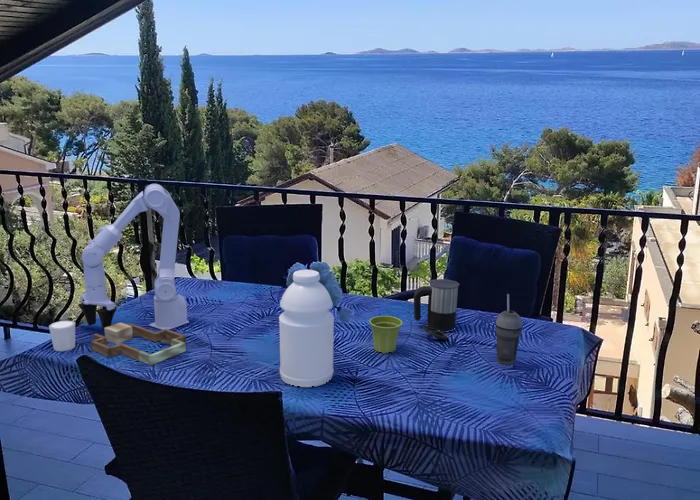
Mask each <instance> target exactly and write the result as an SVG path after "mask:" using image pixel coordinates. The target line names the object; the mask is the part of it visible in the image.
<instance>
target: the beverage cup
mask: <svg viewBox="0 0 700 500" xmlns="http://www.w3.org/2000/svg"><path fill="white" fill-rule="evenodd" d="M506 296H507V297H506V306H507V307H506V308H507V309H506V310H504V311H502V312H500V313H499V314H498V316H497V318H496V320H495V324H494V326H495V333H496V361H497V362H498V363H499V364H501V365H505V366H511V365H514V366H515V363H516V360H517V353H518V347H519V343H520V337H521V335H522V330H523V327H524V326H523V320H522V318H521V316H520V315H519V314H518V313H517V312H516V311H514V310H510V294H509V293H507V294H506ZM497 362H496V363H497Z"/></svg>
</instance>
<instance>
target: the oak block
mask: <svg viewBox="0 0 700 500" xmlns="http://www.w3.org/2000/svg"><path fill="white" fill-rule="evenodd" d="M126 324H127V323H123V322H117V323H114V324H111V326H108V327H105V328H104V330H105V331H104V337H107V342H109V343H113V344H115V345H118V344H121V343H122V344H123V343H125V342H127V341H130V340H132V339H134V334H133V332H132V326H130V325H126Z"/></svg>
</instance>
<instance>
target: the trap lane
mask: <svg viewBox="0 0 700 500" xmlns="http://www.w3.org/2000/svg"><path fill="white" fill-rule="evenodd" d="M125 324H126V325H130V326H132V332H133V335H135V336H136V337H137V336H138V337H140V338H143V339H146V340H149V341H151V342H154V343H157V342H161V343H163V344H166V345H168V346H170V347H167V348H164V349H162V350H159V351H157V352H154V353H148V352H145V351H143V350H141V349H137V348H135V347H134V346H133V347H132V346H130V345H127V344H124V343H123V342H122V343H120V344H115V345H113V346H108V341H107V337H105V335H101V334H98V333H94V334H93V335H92V336H93V337H92V338H93V340H90V342H89V343H90V350H91V351H93V352H96V353H97V354H101V355H103V356H105V357H107V358H113V357H115V356H118V355H124V356H127V357H130V358H132V359H133V360H136V361H138V362H139V361H140V362H142V363H143V364H144V363H145V364H146V365H149V366H153V365H155V364H158V363H160V362H162V361H166V360H168V359H169V358H170V359H171V358H172V357H175V356H177V355H180V354H182V353H185V352H187V335H184V334H182V333H178V332H175V331H172V330H171V329H170V330H167V329H164V330H159V331H153V330H150V329H148V328H144V327H142V326H138V325H136V324H133V323H131V322H128V323H125Z"/></svg>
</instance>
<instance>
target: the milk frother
mask: <svg viewBox="0 0 700 500" xmlns="http://www.w3.org/2000/svg"><path fill="white" fill-rule="evenodd" d="M459 286H460V283H459V282H457V281H456V280H451V279H445V278H444V279H443V278H441V279H440V278H439V279H438V278H437V279H431V280H430V281H429V285H425V286H424V285H423V286H420V287H418V288H417V289H416V290H415V291H414V294H413V317H414V320H415V321H418V322H419V321H420V320H421V316H422V315H421V314H422V313H421V306H422V305H421V304H422V303H421V300H422V299H421V297H422V296H423V295H426V294H427V295H428V301H427V312H426V313H427V317H426V322H427V324H426V325H424V326H423V327H422V330H423V331H425V332H426V333H427V334H429V335H431V336H432V337H434V338H436V339H438V340H439V339H441V340H447V339H448V334H446V332H442V331H448V330H452V329H454V328H455V327H456V328H457V326H456V323H457V320H456V319H457V303H458V291H459ZM427 325H428V326H427ZM438 330H440V331H438Z"/></svg>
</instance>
